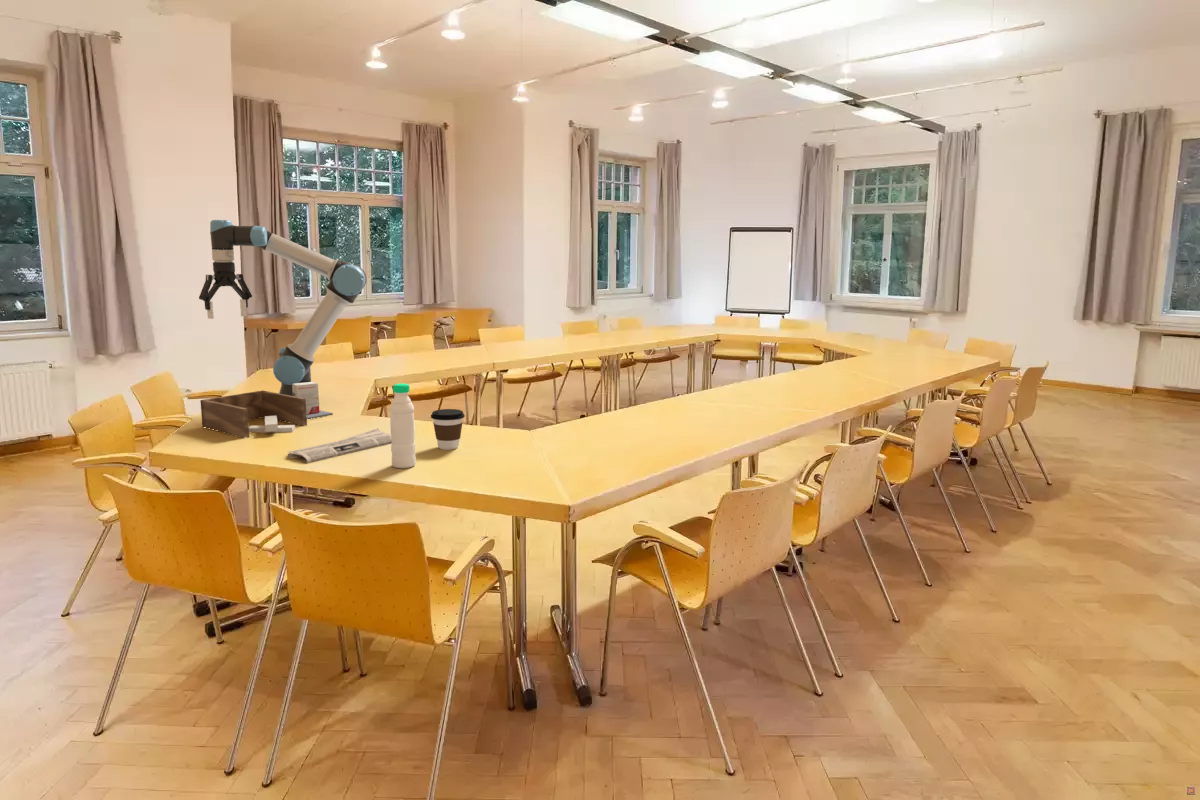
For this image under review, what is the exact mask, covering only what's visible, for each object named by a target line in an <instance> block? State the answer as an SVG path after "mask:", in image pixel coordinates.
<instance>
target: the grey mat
mask: <svg viewBox="0 0 1200 800" xmlns="http://www.w3.org/2000/svg"><path fill="white" fill-rule="evenodd" d="M319 411H320V412H319V413H313V414H306V416H307V419H310V420H312V419H311V418H315V419H318V418H317V417H320V418H323V417H322V416H325V417H328V416H327V415H330V416H333V415H332V414H334V413H333V412H330V411H325V410H320V409H319Z"/></svg>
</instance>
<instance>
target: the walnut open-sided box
mask: <svg viewBox="0 0 1200 800" xmlns="http://www.w3.org/2000/svg"><path fill="white" fill-rule="evenodd" d="M199 402H200V411H201V413H200V414H201V423H202V425H201V426H202V427H201V428H203V427H206V428H210V429H214V430H218V431H217V432H219V431H221V432H220V433H223V432H225V433H224V434H227V433H229V434H228V435H231V434H233V435H232V436H235V435H237V436H236V437H239V436H241V437H240V438H243V437H248V438H250V433H249V427H250V425H249V421H250V420H249V419H252V420H255V419H254V418H257V419H260V418H259V417H263V418H264V417H265V416H277V421H278V420H281V421H280V422H282V421H286V422H285V423H287V422H290V423H289V424H291V423H295V424H294V425H296V424H299V425H298V426H301V425H303V426H302V427H305V426H304V425H306V426H308V420H307V416H306V398H300V397H295V396H290V395H284V394H279V392H273V391H269V390H267V391H266V390H257V391H256V390H255V391H250V392H244V393H238V394H232V395H226V396H219V397H212V398H206V399H201V400H200V401H199ZM206 428H205V429H206ZM210 429H209V430H210ZM214 430H213V431H214Z"/></svg>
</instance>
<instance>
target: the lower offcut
mask: <svg viewBox="0 0 1200 800" xmlns="http://www.w3.org/2000/svg"><path fill="white" fill-rule="evenodd" d="M294 431H296V424H287V425H286V424H280V425H279V424H278V431H267V432H265V424H264V425H249V432H261V433H293V432H294Z"/></svg>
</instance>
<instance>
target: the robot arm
mask: <svg viewBox="0 0 1200 800" xmlns="http://www.w3.org/2000/svg"><path fill="white" fill-rule="evenodd" d="M209 223H210V225H209V226H210V227H209V228H210V229H209V231H210V232H209V234H210V242H211V245H210V246H211V256H212V257H211V259H212V261H213V262H212V270H213V274H205V280H204V283H203V286H202V289H201V291H200V294H199V296H198V299H199V300H201V301H203V302H204V309H205V310H206V312H207V319H210V320H213V319H215V317H214V305H213V301H212V299H213V297H214V295H216V293H217V291H218V290H219V288H221V287H231V288H232V289H233V290H234V291H235V292H236V294H237V295H238V296H239V297H240V298H241V299H239V305H240V317H248V314H247V313H248V312H247V308H248V307H249V303H248V300H250V298H253V295H252V293H251V291H250V289H249V287H248V285H247V284H246V281H245V279H244V275H243V274H242V273H235V272H236V266H235V262H234V261H235V256H234V255H235V254H234V246H235V247H236V246H237V247H238V246H240V247H256V248H258V249H261V250H263V251H265V252H268V253H271V254H272V255H275V256H277V257H280V258H282V259H285V260H287V261H288V262H292V263H293V264H295V265H298V266H301V267H302V268H306V270H309V271H312V272H314V273H316V274H319V275H320V276H323V277H326V278H327V280H328V281H329V282H328V284H327V285H326V287H325V289H326V290H325V291H326V294H325V296H324V297H323V299H322V300H321V301H320V303H319V304H318V306H317V307H316V309H315V310H314V312H313V314H312V315H311V317H310V318H309V320H308V321H307V322H306V324H305V325H304V326H303V329H302V330H301V332H300V333H299V335H297V338H296V339H295V341H294V342H293V343H289V344H287V346H286V347H282V348H280V349H279V352H278V356H279V357H278V358H277V359H276V360H275V361H274V363H273V368H272V371H273V375H274V378H275V379H276V380H277V381H279V382H280V389H279V392H278V393H279V394H284V395H290V396H293V389H292V384H294V383H305V382H312V375H311V374H312V373H311V371H312V370H311V367H312V365H313V364H314V362H315V357H314V355H315V353H316V352H317V351H318V349H319V347H320V346H321V344H322V343H323V342H324V340H325V338H326V337H327V336H328V334H329V332H330V331H331V330H332V328H333V327H334V325H335V323H336V322H337V320H339V318H340V316H341V314H342V313H343V311H344V309H346V307H347V306H348V305H353V304H354V303H355V301H356V299H357V297H358V296H359V295H360V293H361V292H362V291H363V289H364V288H365V286H366V284H367V275H366V272H365V270H364V269H363V268H362V267H361V266H359V265H357V264H353V263H349V262H346V261H344V260H341V259H339V258H336V259H333V258H331V257H328V256H326V255H323V254H321V253H320V252H317V251H315V250H312V249H310V248H307V247H306V246H303V245H300V244H298V243H296V242H294V241H291V240H289V239H287V238H285V237H282V236H280V235H278V234H275V233H272V232H271V231H268V230H267V228H266V227H265V226H264V225H263V226H260V225H235V224H233V222H232V220H230V219H229V220H228V219H213V220H211V221H210V222H209ZM235 280H237V282H238V284H239V285H238V284H237V282H236V281H235ZM213 281H214V282H213ZM212 283H213V284H212Z"/></svg>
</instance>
